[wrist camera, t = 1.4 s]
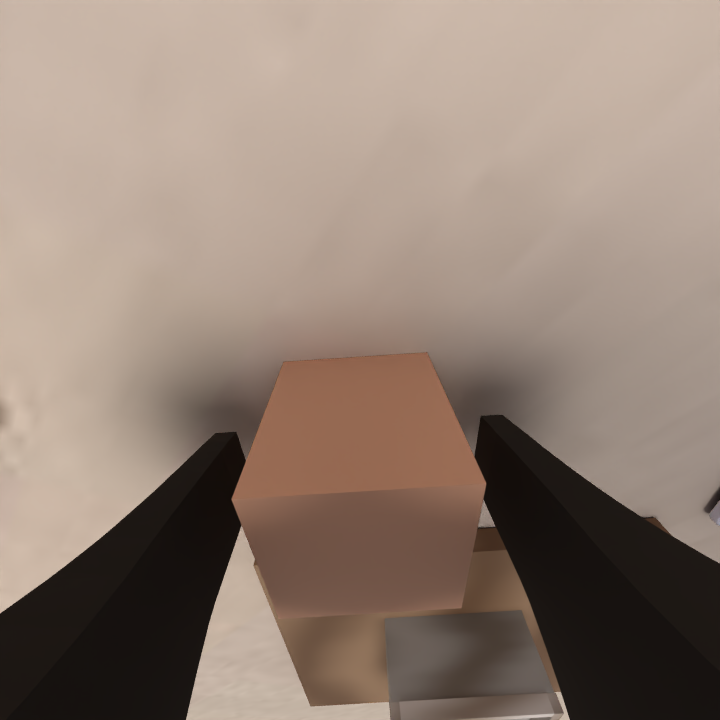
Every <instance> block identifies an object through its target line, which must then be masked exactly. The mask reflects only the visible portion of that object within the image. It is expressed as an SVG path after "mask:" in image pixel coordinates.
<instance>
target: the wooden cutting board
mask: <svg viewBox="0 0 720 720" xmlns="http://www.w3.org/2000/svg"><path fill="white" fill-rule="evenodd" d="M645 520H647V521H649V522H650V523H652V524H653V525H655V526H657V527H658V528H660V529H661V530H663V531H665V532H666V533H668V534H669V535H671V534H670V533H669V532H668V531H667V530H666V529H665V528H664V527H663V526H662V525H661V523H660V522H659V521H658V520H657V519H656V518H646V519H645ZM671 536H672V535H671ZM254 568H255V570H256V573H257V575H258V578H259V580H260V583H261V585H262V588H263V590H264V593H265V595H266V597H267V600H268V602H269V605H270V607H271V610H272V612H273V615H274V617H275V620H276V622H277V625H278V627H279V629H280V632H281V634H282V637H283V639H284V642H285V644H286V647H287V649H288V652H289V654H290V657H291V659H292V662H293V664H294V666H295V669H296V671H297V674H298V676H299V679H300V681H301V684H302V686H303V689H304V691H305V694H306V696H307V698H308V701H309V703H310V706H326V705H343V704H360V703H377V702H389V705H390V718H391V720H559V719H560V718H561V717H562V715H563V714H564V712H563V710H562V707H561V705H560V702H559V700H558V697H557V695H556V693H554V692H561V691H560V688H559V685H558V682H557V679H556V676H555V673H554V670H553V667H552V664H551V661H550V658H549V655H548V652H547V650H546V647H545V644H544V641H543V638H542V635H541V633H540V630H539V627H538V624H537V622H536V619H535V616H534V613H533V611H532V608H531V605H530V602H529V600H528V597H527V595H526V592H525V590H524V588H523V585H522V583H521V580H520V578H519V576H518V574H517V572H516V570H515V567H514V565H513V563H512V561H511V559H510V556H509V554H508V552H507V550H506V548H505V546H504V543H503V541H502V539H501V537H500V535H499V532H498V530H497V528H484V529H477V533H476V538H475V543H474V548H473V553H472V558H471V563H470V568H469V573H468V578H467V583H466V588H465V593H464V598H463V603H462V608H457V609H440V610H423V611H406V612H389V613H373V614H356V615H339V616H322V617H305V618H288V619H279V618H278V616H277V613H276V611H275V608H274V606H273V603H272V601H271V598H270V595H269V593H268V590H267V588H266V585H265V583H264V580H263V578H262V575H261V573H260V570H259V568H258V565H257V563H256V560H255V562H254Z"/></svg>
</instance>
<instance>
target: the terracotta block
mask: <svg viewBox="0 0 720 720" xmlns="http://www.w3.org/2000/svg"><path fill="white" fill-rule="evenodd" d="M485 488H486V482H485V479H484V477H483V475H482V473H481V471H480V468H479V466H478V464H477V462H476V460H475V457H474V455H473V453H472V451H471V449H470V446H469V444H468V442H467V440H466V438H465V435H464V433H463V431H462V429H461V426H460V424H459V422H458V420H457V418H456V415H455V413H454V411H453V409H452V407H451V404H450V402H449V400H448V398H447V396H446V393H445V391H444V389H443V387H442V385H441V382H440V380H439V378H438V376H437V374H436V371H435V369H434V367H433V365H432V363H431V360H430V358H429V356H428V354H427V352H426V353H411V354H396V355H381V356H365V357H350V358H335V359H320V360H304V361H289V362H283V365H282V367H281V370H280V373H279V375H278V378H277V381H276V383H275V386H274V389H273V391H272V394H271V397H270V399H269V402H268V404H267V407H266V410H265V412H264V415H263V418H262V420H261V423H260V426H259V428H258V431H257V433H256V436H255V439H254V441H253V444H252V447H251V449H250V452H249V455H248V457H247V460H246V462H245V465H244V468H243V470H242V473H241V476H240V478H239V481H238V484H237V486H236V489H235V491H234V494H233V497H232V499H231V500H232V502H233V505H234V507H235V510H236V512H237V515H238V517H239V520H240V522H241V525H242V527H243V530H244V532H245V535H246V537H247V540H248V542H249V545H250V548H251V550H252V553H253V555H254V558H255V560H256V563H257V565H258V568H259V570H260V573H261V575H262V578H263V580H264V583H265V585H266V588H267V590H268V593H269V595H270V598H271V601H272V603H273V606H274V608H275V611H276V613H277V616H278V618H279V619H288V618H305V617H322V616H339V615H356V614H373V613H389V612H406V611H423V610H440V609H457V608H462V603H463V598H464V593H465V588H466V583H467V578H468V573H469V568H470V563H471V558H472V553H473V548H474V543H475V538H476V533H477V528H478V523H479V518H480V513H481V508H482V503H483V498H484V493H485Z"/></svg>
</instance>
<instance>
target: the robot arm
mask: <svg viewBox="0 0 720 720" xmlns="http://www.w3.org/2000/svg"><path fill="white" fill-rule="evenodd" d="M474 457H475V460H476V462H477V464H478V466H479V468H480V471H481V473H482V475H483V477H484V479H485V482H486V488H485V493H484V498H483V499H484V501H485V504H486V506H487V508H488V510H489V513H490V515H491V517H492V519H493V521H494V524H495V526H496V528H497V530H498V532H499V535H500V537H501V539H502V541H503V543H504V546H505V548H506V550H507V552H508V554H509V556H510V559H511V561H512V563H513V565H514V567H515V570H516V572H517V574H518V576H519V578H520V580H521V583H522V585H523V588H524V590H525V592H526V595H527V597H528V600H529V602H530V605H531V608H532V611H533V613H534V616H535V619H536V622H537V624H538V627H539V630H540V633H541V635H542V638H543V641H544V644H545V647H546V650H547V652H548V655H549V658H550V661H551V664H552V667H553V670H554V673H555V676H556V679H557V682H558V685H559V688H560V691H561V693H562V696H563V699H564V703H565V706H566V709H567V712H568V715H569V718H570V720H720V564H719V563H718V562H716V561H714V560H712V559H710V558H709V557H707V556H705V555H703V554H701V553H700V552H698V551H696V550H695V549H693V548H691V547H690V546H688V545H686V544H684V543H683V542H681V541H679V540H678V539H676V538H674V537H673V536H671V535H669V534H668V533H666V532H665V531H663V530H661V529H660V528H658V527H657V526H655V525H653V524H652V523H650V522H649V521H647V520H645V519H644V518H642V517H641V516H639V515H637V514H636V513H634V512H633V511H631V510H630V509H628V508H627V507H625V506H624V505H622V504H621V503H619V502H618V501H616V500H615V499H613V498H612V497H610V496H609V495H607V494H606V493H605V492H603V491H602V490H600V489H599V488H597V487H596V486H595V485H593V484H592V483H590V482H589V481H587V480H586V479H585V478H583V477H582V476H581V475H579V474H578V473H576V472H575V471H574V470H572V469H571V468H570V467H568V466H567V465H566V464H564V463H563V462H562V461H560V460H559V459H558V458H556V457H555V456H554V455H553V454H551V453H550V452H549V451H547V450H546V449H545V448H544V447H542V446H541V445H540V444H539V443H537V442H536V441H535V440H533V439H532V438H531V437H530V436H528V435H527V434H526V433H525V432H523V431H522V430H521V429H520V428H518V427H517V426H516V425H515V424H513V423H512V422H511V421H509V420H508V419H507V418H506V417H504V416H503V415H490V416H481V419H480V425H479V431H478V437H477V444H476V450H475V456H474ZM245 462H246V460H245V457H244V454H243V451H242V448H241V445H240V442H239V439H238V436H237V433H236V432H228V433H215V434H214V435H213V436H212V437H211V438H210V439H209V440H208V441H207V442H206V443H205V444H203V445H202V446H201V447H200V448H199V449H198V450H197V451H196V452H195V453H194V454H193V455H192V456H191V457H190V458H189V459H188V460H187V461H186V462H185V463H184V464H183V465H182V466H181V467H180V468H179V469H177V470H176V471H175V472H174V473H173V474H172V475H171V476H170V477H169V478H168V479H167V480H166V481H165V482H164V483H163V484H162V485H160V486H159V487H158V488H157V489H156V490H155V491H154V492H153V493H152V494H151V495H150V496H149V497H147V498H146V499H145V500H144V501H143V502H142V503H141V504H139V505H138V506H137V507H136V508H135V509H134V510H133V511H131V512H130V513H129V514H128V515H127V516H126V517H125V518H124V519H122V520H121V521H120V522H119V523H118V524H117V525H116V526H114V527H113V528H112V529H111V530H110V531H109V532H107V533H106V534H105V535H104V536H103V537H101V538H100V539H99V540H98V541H96V542H95V543H94V544H93V545H92V546H90V547H89V548H88V549H87V550H85V551H84V552H83V553H81V554H80V555H79V556H78V557H76V558H75V559H74V560H73V561H71V562H70V563H69V564H67V565H66V566H65V567H64V568H62V569H61V570H60V571H58V572H57V573H56V574H54V575H53V576H52V577H50V578H49V579H48V580H46V581H45V582H44V583H42V584H41V585H39V586H38V587H37V588H35V589H34V590H32V591H31V592H30V593H28V594H27V595H25V596H24V597H23V598H21V599H20V600H19V601H17V602H16V603H14V604H13V605H12V606H10V607H9V608H7V609H6V610H5V611H3V612H2V613H0V720H186V717H187V713H188V708H189V704H190V700H191V695H192V691H193V687H194V682H195V678H196V674H197V669H198V665H199V661H200V657H201V653H202V649H203V645H204V641H205V637H206V633H207V629H208V625H209V621H210V618H211V615H212V611H213V608H214V605H215V601H216V598H217V595H218V592H219V590H220V587H221V584H222V581H223V578H224V575H225V572H226V569H227V566H228V563H229V560H230V557H231V554H232V552H233V549H234V546H235V543H236V540H237V537H238V534H239V531H240V528H241V522H240V520H239V517H238V515H237V512H236V510H235V507H234V505H233V502H232V500H231V499H232V497H233V494H234V491H235V489H236V486H237V484H238V481H239V478H240V476H241V473H242V470H243V468H244V465H245ZM709 516H710V518H711V519H712V520H713V521H714V522H715V523H716V524H717V525H719V526H720V500H719V502H718V503H717V504H716V506H715V507H714V508H713V510H712V511H711V512H710V515H709Z"/></svg>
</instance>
